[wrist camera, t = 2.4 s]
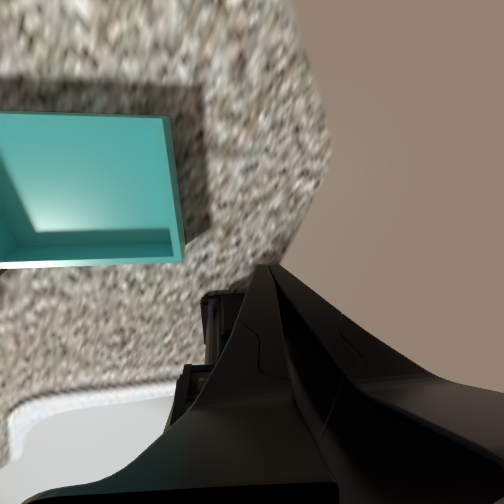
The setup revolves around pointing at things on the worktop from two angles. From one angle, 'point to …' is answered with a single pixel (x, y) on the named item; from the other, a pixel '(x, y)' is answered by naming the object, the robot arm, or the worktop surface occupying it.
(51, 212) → the tray
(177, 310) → the worktop surface
